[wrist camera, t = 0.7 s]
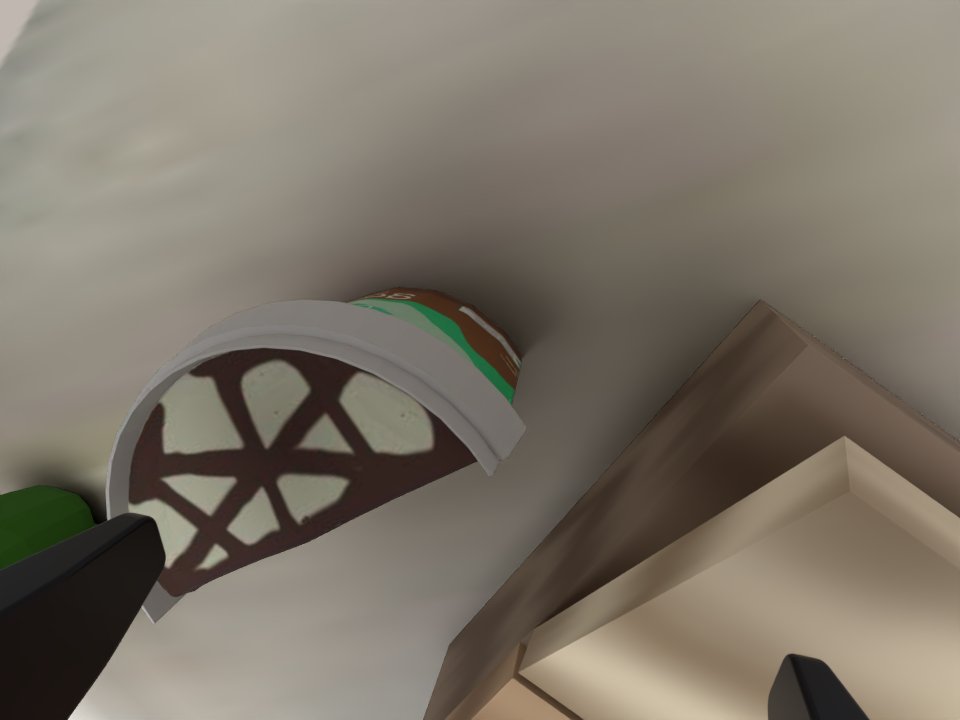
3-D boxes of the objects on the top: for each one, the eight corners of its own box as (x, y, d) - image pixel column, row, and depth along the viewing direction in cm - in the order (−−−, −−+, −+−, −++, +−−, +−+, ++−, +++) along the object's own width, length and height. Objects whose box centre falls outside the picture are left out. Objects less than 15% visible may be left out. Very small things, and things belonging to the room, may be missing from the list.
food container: (473, 190, 21) (359, 212, 12) (557, 339, 22) (513, 466, 13) (228, 345, 25) (3, 450, 16) (309, 465, 26) (140, 630, 17)
